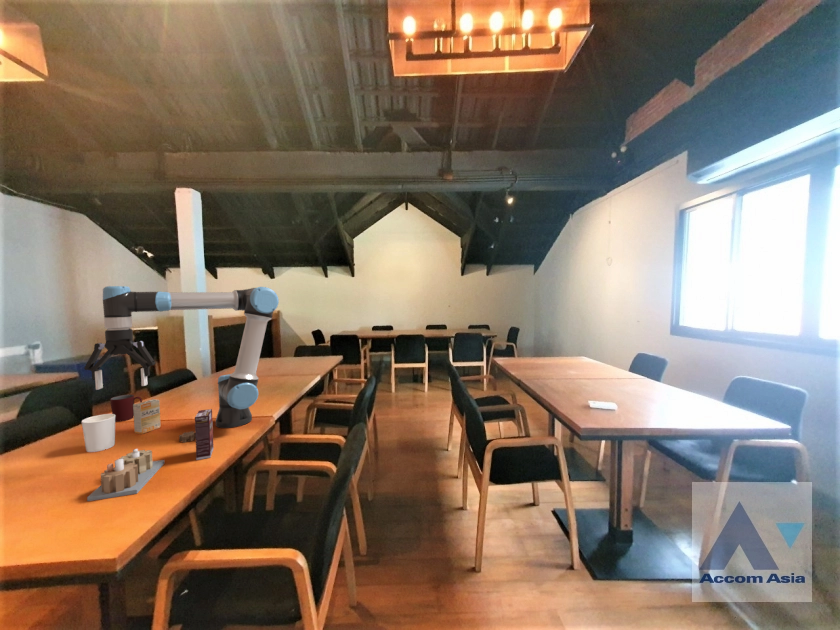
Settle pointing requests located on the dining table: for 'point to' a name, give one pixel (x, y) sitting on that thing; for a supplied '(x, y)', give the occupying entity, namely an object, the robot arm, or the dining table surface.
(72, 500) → the dining table surface
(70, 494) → the dining table surface
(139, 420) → the supplement box
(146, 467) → the maple gear
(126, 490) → the gear board
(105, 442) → the candle holder
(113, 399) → the mug
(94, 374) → the robot arm
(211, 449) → the supplement box
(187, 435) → the gear
